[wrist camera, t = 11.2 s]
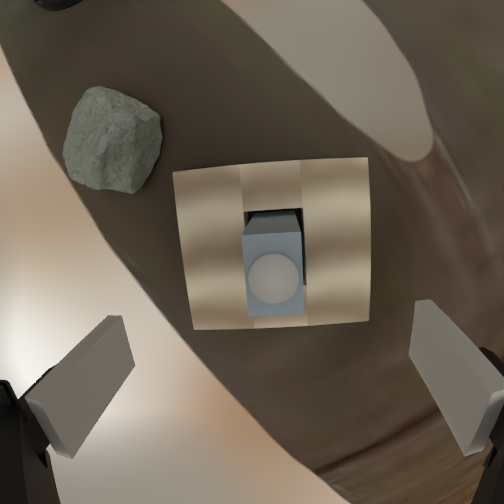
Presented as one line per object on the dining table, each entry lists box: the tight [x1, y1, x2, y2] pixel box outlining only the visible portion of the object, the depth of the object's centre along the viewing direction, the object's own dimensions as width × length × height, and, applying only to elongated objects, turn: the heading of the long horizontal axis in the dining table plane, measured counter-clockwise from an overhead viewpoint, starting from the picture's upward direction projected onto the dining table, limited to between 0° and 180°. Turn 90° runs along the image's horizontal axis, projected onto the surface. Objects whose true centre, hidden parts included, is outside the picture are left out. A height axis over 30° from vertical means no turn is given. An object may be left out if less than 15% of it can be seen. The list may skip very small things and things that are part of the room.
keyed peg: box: [241, 210, 304, 317], centre depth 28 cm, size 4×6×13 cm, turn 5°
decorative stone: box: [62, 86, 163, 194], centre depth 30 cm, size 13×11×10 cm
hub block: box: [172, 158, 371, 330], centre depth 32 cm, size 16×18×4 cm
